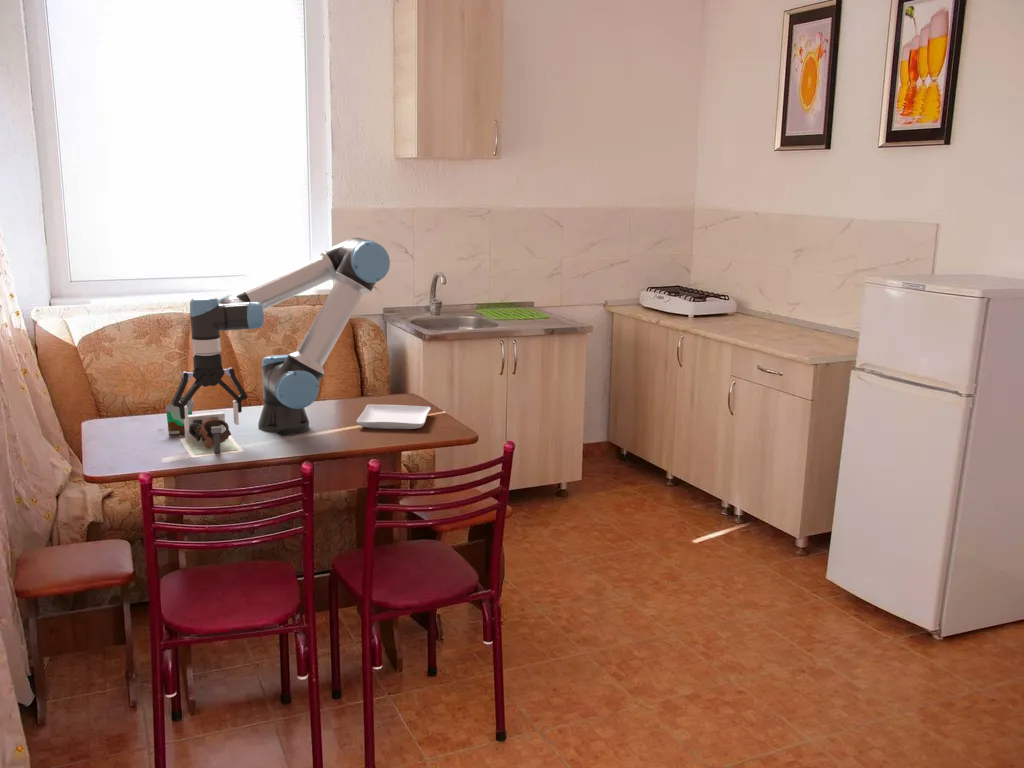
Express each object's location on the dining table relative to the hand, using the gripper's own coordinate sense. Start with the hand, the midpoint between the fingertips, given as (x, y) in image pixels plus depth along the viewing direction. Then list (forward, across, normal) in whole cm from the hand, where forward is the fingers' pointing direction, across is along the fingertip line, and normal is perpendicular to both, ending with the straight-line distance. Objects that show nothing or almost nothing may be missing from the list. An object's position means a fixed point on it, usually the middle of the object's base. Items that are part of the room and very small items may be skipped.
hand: (212, 426), depth 263 cm
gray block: (+6, 0, +8) cm, 10 cm away
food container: (+7, +4, -21) cm, 23 cm away
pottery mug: (+6, +1, -1) cm, 6 cm away
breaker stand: (+7, 0, -1) cm, 7 cm away
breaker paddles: (+3, 0, -8) cm, 8 cm away
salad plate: (+8, -58, -7) cm, 58 cm away
